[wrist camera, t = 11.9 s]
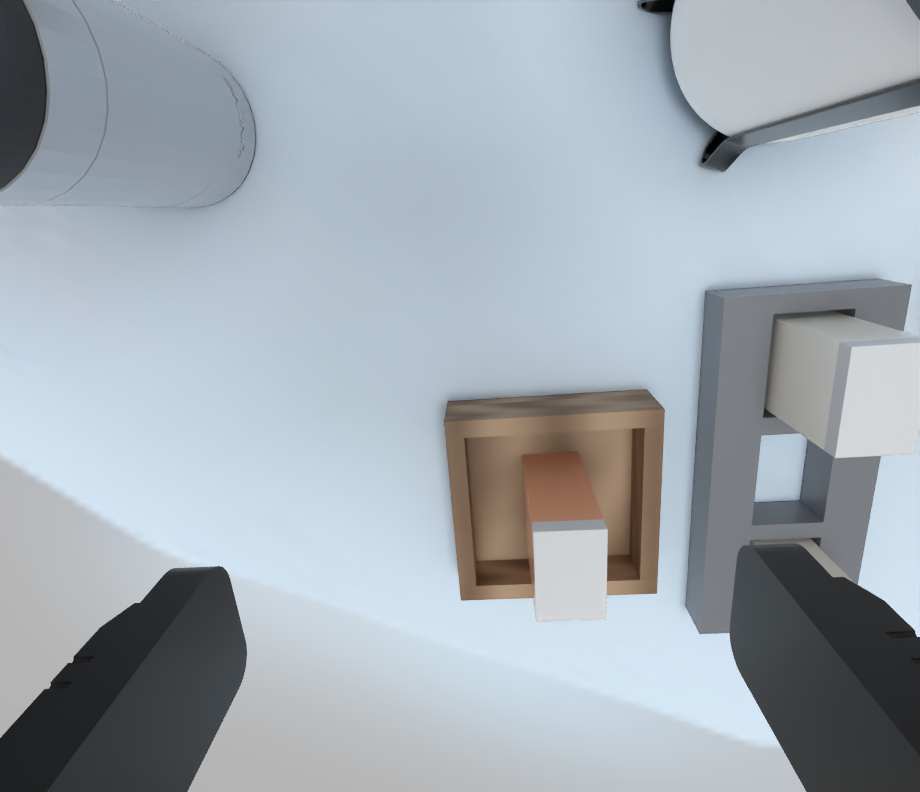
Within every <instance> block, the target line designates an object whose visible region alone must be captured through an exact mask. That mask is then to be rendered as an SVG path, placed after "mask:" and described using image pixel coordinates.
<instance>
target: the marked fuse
mask: <svg viewBox="0 0 920 792" xmlns="http://www.w3.org/2000/svg"><path fill="white" fill-rule="evenodd" d="M522 475H523V500H524V526H525V535H526V543H527V551H528V559H529V567H530V575H531V583H532V592H533V600H534V608H535V616H536V622H549V621H586V620H606V604H607V543H608V529H607V526H606V523H605V521H604V518H603V516H602V513H601V510H600V508H599V505H598V503H597V500H596V497H595V495H594V492H593V490H592V487H591V484H590V482H589V479H588V477H587V474H586V471H585V469H584V466H583V464H582V461H581V458H580V456H579V453H578V452H566V453H545V454H523V455H522Z"/></svg>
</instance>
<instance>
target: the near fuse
mask: <svg viewBox="0 0 920 792" xmlns="http://www.w3.org/2000/svg"><path fill="white" fill-rule="evenodd" d="M764 408H765V409H766V410H768V411H769V412H771V413H772V414H773V415H775V416H776V417H778V418H779V419H780V420H782V421H783V422H785V423H786V424H788V425H789V426H790V427H792V428H793V429H795V430H796V431H797V432H799V433H800V434H802V435H803V436H804V437H806V438H807V439H809V440H810V441H812V442H813V443H814V444H816V445H817V446H819V447H820V448H821V449H823V450H824V451H826V452H827V453H829V454H830V455H831V456H833V457H834V458H847V457H866V456H886V455H906V454H915V451H916V447H917V442H918V437H919V432H920V336H917V335H914V334H910V333H907V332H903V331H900V330H896V329H893V328H889V327H886V326H882V325H879V324H876V323H872V322H869V321H865V320H862V319H858V318H855V317H851V316H848V315H844V314H841V313H838V312H834V311H831V310H827V311H812V312H797V313H783V314H774V315H773V325H772V335H771V344H770V354H769V364H768V373H767V383H766V393H765V402H764Z"/></svg>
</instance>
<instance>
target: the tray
mask: <svg viewBox="0 0 920 792" xmlns="http://www.w3.org/2000/svg"><path fill="white" fill-rule="evenodd" d="M664 412H665V409H664V408H663V407H662V406H661V405H660V404H659V402H658V401H657V400H656V399H655V398H654V397H653V396H652V395H651V394H650V392H649V391H648V390H632V391H615V392H598V393H582V394H565V395H548V396H532V397H515V398H498V399H482V400H465V401H448V405H447V410H446V415H445V420H444V425H445V436H446V446H447V457H448V468H449V478H450V489H451V499H452V510H453V521H454V531H455V542H456V553H457V563H458V574H459V584H460V595H461V600H487V599H515V598H533V592H532V583H531V575H530V567H529V559H528V551H527V543H526V535H525V526H524V500H523V475H522V455H523V454H545V453H566V452H578V453H579V456H580V458H581V461H582V464H583V466H584V469H585V471H586V474H587V477H588V479H589V482H590V484H591V487H592V490H593V492H594V495H595V497H596V500H597V503H598V505H599V508H600V510H601V513H602V516H603V518H604V521H605V523H606V526H607V529H608V543H607V595H628V594H656V593H657V576H658V553H659V529H660V506H661V482H662V459H663V435H664Z"/></svg>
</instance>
